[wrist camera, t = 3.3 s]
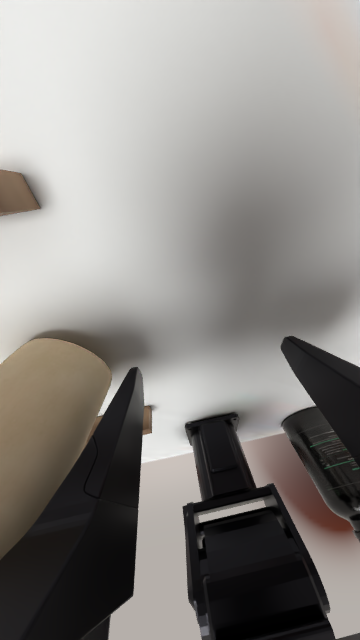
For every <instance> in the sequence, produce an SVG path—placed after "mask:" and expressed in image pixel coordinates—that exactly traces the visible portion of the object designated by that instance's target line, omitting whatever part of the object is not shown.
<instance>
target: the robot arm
mask: <svg viewBox="0 0 360 640" xmlns="http://www.w3.org/2000/svg"><path fill="white" fill-rule="evenodd" d="M281 350H282V352H283V354H284V356H285V358H286V359H287V361H288V363H289V365H290V367H291V369H292V370H293V372H294V374H295V375H296V377H297V378H298V380H299V381H300V383H301V384H302V385H303V387H304V388H305V390H306V391H307V393H308V394H309V396H310V397H311V398H312V400H313V401H314V403H315V404H316V406H317V407H318V409H319V410H320V411H321V413H322V414H323V416H324V417H325V419H326V420H327V422H328V423H329V424H330V426H331V427H332V429H333V430H334V432H335V433H336V435H337V436H338V437H339V439H340V440H341V442H342V443H343V445H344V446H345V448H346V449H347V450H348V452H349V453H350V455H351V456H352V458H354V461H355V462H356V464H357V465H358V467H359V468H360V367H358V366H356V365H354V364H351V363H349V362H347V361H345V360H343V359H341V358H339V357H337V356H334V355H332V354H330V353H328V352H326V351H324V350H322V349H320V348H317V347H315V346H313V345H311V344H309V343H307V342H305V341H303V340H300V339H298V338H296V337H294V336H287V337H285V338H284V339H283V342H282V344H281ZM143 418H144V393H143V377H142V374H141V372H140V370H139V368H138V367H134V368H131V369H130V370H129V372H128V373H127V375H126V377H125V379H124V380H123V382H122V384H121V386H120V387H119V389H118V391H117V393H116V394H115V396H114V398H113V400H112V401H111V403H110V405H109V406H108V408H107V410H106V412H105V413H104V415H103V417H102V419H101V420H100V422H99V424H98V426H97V427H96V429H95V431H94V433H93V435H92V436H91V438H90V439H89V441H88V443H87V445H86V446H85V448H84V450H83V451H82V453H81V454H80V456H79V458H78V459H77V461H76V462H75V464H74V465H73V467H72V469H71V470H70V472H69V473H68V475H67V476H66V478H65V479H64V481H63V482H62V484H61V485H60V486H59V488H58V489H57V491H56V492H55V494H54V495H53V497H52V498H51V500H50V501H49V503H48V504H47V506H46V507H45V509H44V510H43V512H42V513H41V514H40V516H39V517H38V519H37V520H36V521H35V523H34V524H33V525H32V526H31V528H30V529H29V530H28V531H27V532H26V534H25V535H24V536H23V537H22V538H21V539H20V540H19V541H18V542H17V543H16V544H15V545H14V546H13V547H12V548H11V549H10V550H9V551H8V552H7V553H6V554H5V555H4V556H3V557H2V558H1V559H0V640H108V639H109V628H110V617H111V614H112V613H113V612H114V611H116V610H117V609H118V608H119V607H120V606H121V605H123V604H124V603H125V602H126V601H128V600H129V599H130V598H131V597H132V596H133V591H134V575H135V558H136V557H135V556H136V540H137V523H138V522H137V521H138V503H139V487H140V470H141V469H140V468H141V452H142V435H143ZM238 421H239V417H238V415H237V414H232V415H227V416H223V417H218V418H214V419H209V420H205V421H200V422H196V423H191V424H187V425H185V430H186V433H187V436H188V439H189V443H190V445H191V446H193V451H194V457H195V463H196V469H197V474H198V481H199V487H200V493H201V498H202V501H201V502H198V503H193V502H191V503H187V505H186V506H183V515H184V525H185V537H186V538H185V539H186V561H187V585H188V599H189V603H190V604H191V606H192V607H193V608H194V610H195V611H196V616H197V621H198V624H199V626H200V632H201V637H202V640H360V633H358V634H354V635H350V636H346V637H343V638H339V639H335V636H334V632H333V629H332V627H331V624H330V622H329V621H328V618H327V615H326V613H329V612H330V606H329V601H328V598H327V595H326V592H325V589H324V586H323V584H322V582H321V579H320V577H319V574H318V572H317V569H316V567H315V565H314V563H313V561H312V559H311V557H310V555H309V552H308V550H307V549H306V547H305V545H304V543H303V541H302V539H301V537H300V535H299V533H298V531H297V529H296V527H295V525H294V523H293V521H292V519H291V517H290V515H289V513H288V511H287V509H286V507H285V505H284V503H283V501H282V499H281V497H280V495H279V493H278V492H277V489H276V487H275V485H274V484H273V483H271V484H267V485H266V486H265V487H260V488H256V485H255V483H254V480H253V477H252V474H251V471H250V469H249V466H248V463H247V461H246V458H245V455H244V452H243V449H242V447H241V444H240V441H239V438H238V436H237V433H236V431H237V426H238ZM262 500H264V502H265V505H266V507H264V508H260V509H256V510H252V511H248V512H244V513H239V514H235V515H231V516H227V517H222V518H218V519H214V520H210V521H206V522H202V523H199V517H198V516H199V515H203V514H207V513H211V512H216V511H220V510H224V509H228V508H233V507H237V506H241V505H245V504H249V503H253V502H258V501H262ZM202 539H203V540H202Z"/></svg>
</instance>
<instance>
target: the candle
mask: <svg viewBox="0 0 360 640" xmlns="http://www.w3.org/2000/svg"><path fill="white" fill-rule="evenodd" d="M111 380H112V374H111V371H110V369H109V367H108V366H107V365H106V364H105V362H104V361H102V360H101V359H100V358H99V357H98V356H96V355H95V354H93V353H92V352H90V351H89V350H87V349H85V348H83V347H81V346H78V345H76V344H73V343H70V342H67V341H63V340H59V339H52V338H39V339H34V340H31V341H29V342H27V343H26V344H24V345H22V346H21V347H20V348H19V349H17V350H16V351H15V352H14V353H13V354H12V355H10V356H9V357H8V358H7V359H6V360H5V361H4V362H3V363H1V364H0V559H1V558H2V557H3V556H4V555H5V554H6V553H7V552H8V551H9V550H10V549H11V548H12V547H13V546H14V545H15V544H16V543H17V542H18V541H19V540H20V539H21V538H22V537H23V536H24V535H25V534H26V532H27V531H28V530H29V529H30V528H31V526H32V525H33V524H34V523H35V521H36V520H37V519H38V517H39V516H40V514H41V513H42V512H43V510H44V509H45V507H46V506H47V504H48V503H49V501H50V500H51V498H52V497H53V495H54V494H55V492H56V491H57V489H58V488H59V486H60V485H61V484H62V482H63V481H64V479H65V478H66V476H67V475H68V473H69V472H70V470H71V469H72V467H73V465H74V464H75V462H76V461H77V459H78V458H79V456H80V454H81V452H82V450H83V448H84V445H85V443H86V441H87V438H88V436H89V434H90V432H91V429H92V427H93V425H94V422H95V420H96V418H97V415H98V413H99V411H100V409H101V406H102V404H103V402H104V399H105V397H106V395H107V392H108V390H109V387H110V384H111Z"/></svg>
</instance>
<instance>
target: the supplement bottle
mask: <svg viewBox="0 0 360 640" xmlns="http://www.w3.org/2000/svg"><path fill="white" fill-rule="evenodd" d="M282 426H283V429H284V431H285V433H286V435H287V437H288V438H289V440H290V442H291V444H292V445H293V447H294V449H295V451H296V452H297V454H298V456H299V458H300V459H301V461H302V463H303V465H304V466H305V468H306V470H307V472H308V473H309V475H310V477H311V478H312V480H313V482H314V484H315V485H316V487H317V489H318V491H319V492H320V494H321V496H322V498H323V499H324V501H325V503H326V504H327V506H328V507H329V508H330V509H331V510H332V511H333V512H334V513H335V514H337V515H338V516H340V517H342V518H344V519H346V520H348V521H349V522H350V523H351V525H352V526H353V528H354V530H353V533H354V535H355V537H356V538H358V539H359V541H360V468H359V467H358V465H357V464H356V462H355V461H354V458H352V456H351V455H350V453H349V452H348V450H347V449H346V448H345V446H344V445H343V443H342V442H341V440H340V439H339V437H338V436H337V435H336V433H335V432H334V430H333V429H332V427H331V426H330V424H329V423H328V422H327V420H326V419H325V417H324V416H323V414H322V413H321V411H320V410H319V409H318V407H312V408H308V409H304V410H302V411H299V412H297V413H295V414H293V415H291V416H289V417H288V418H286V419H285V420H284V422H283V424H282Z"/></svg>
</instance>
